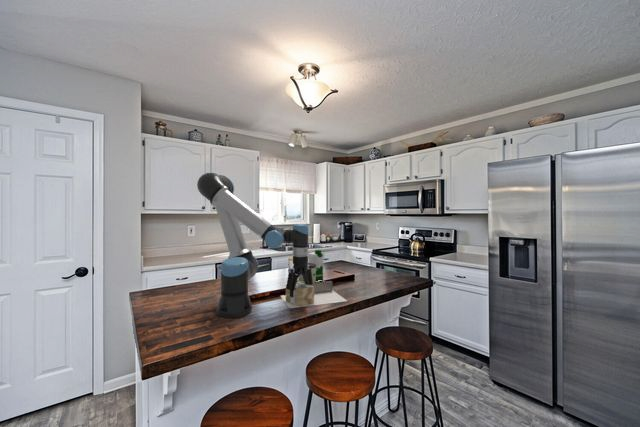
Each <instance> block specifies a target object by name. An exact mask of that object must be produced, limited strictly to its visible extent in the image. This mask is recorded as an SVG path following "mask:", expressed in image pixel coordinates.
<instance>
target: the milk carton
mask: <svg viewBox="0 0 640 427" xmlns="http://www.w3.org/2000/svg"><path fill="white" fill-rule="evenodd" d="M307 256H308V263H314V264H316V281H318V280H324V257H325V253H323V252H322V250H321V249H315V250H314V252H313V251H311V252H308V255H307Z"/></svg>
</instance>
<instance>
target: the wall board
mask: <svg viewBox="0 0 640 427" xmlns="http://www.w3.org/2000/svg"><path fill="white" fill-rule="evenodd" d="M280 297H281V299H282V300H283V301H284V303H285V304H286V305H287V307H288V308H289V309H295V308H296V309H297V308H304V307H310V306H311V307H312V306H319V305H326V304H335V303H342V302H348V300H347V299H346V298H344V297H343V296H341V295H340V294H338V293H337V292H336V291H334V290H333V289H332V292H323V293H314V303H312V304H309V305H306V306H303V307H301V306H299V305H296V304H292V303H290V302H288V301H286V294H285V295H284V294H282V295H280Z"/></svg>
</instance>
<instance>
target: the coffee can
mask: <svg viewBox="0 0 640 427" xmlns="http://www.w3.org/2000/svg"><path fill="white" fill-rule="evenodd" d="M307 265H311V266H312V268H311V272H312V280H313V283H315V282H316V264H314V263H309V262H308V263H307ZM297 282H301V283H305V282H304V279H303V276H302V274H301V275H300V276H299V277H298V280H297Z"/></svg>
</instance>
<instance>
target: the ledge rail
mask: <svg viewBox="0 0 640 427" xmlns="http://www.w3.org/2000/svg"><path fill="white" fill-rule="evenodd" d="M304 284H305V283H304ZM311 286H314V293H323V292H332V290H333V281H332V280H329V281H327V280H326V281H325V280H324V279H323V280H322V282H315V283H313V284H311Z"/></svg>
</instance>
